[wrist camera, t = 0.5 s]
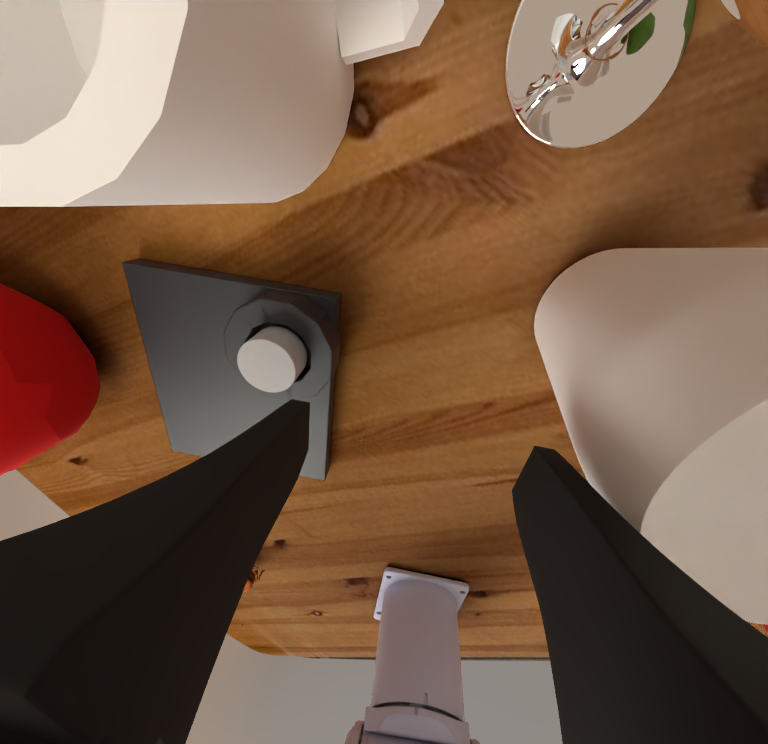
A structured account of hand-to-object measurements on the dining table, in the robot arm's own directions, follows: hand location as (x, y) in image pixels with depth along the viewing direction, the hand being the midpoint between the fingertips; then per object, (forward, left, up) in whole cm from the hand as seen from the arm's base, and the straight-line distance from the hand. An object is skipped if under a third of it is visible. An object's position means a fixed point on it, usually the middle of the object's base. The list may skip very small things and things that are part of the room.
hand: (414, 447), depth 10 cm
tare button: (-1, +7, -7) cm, 10 cm away
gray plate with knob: (-5, +11, -10) cm, 15 cm away
